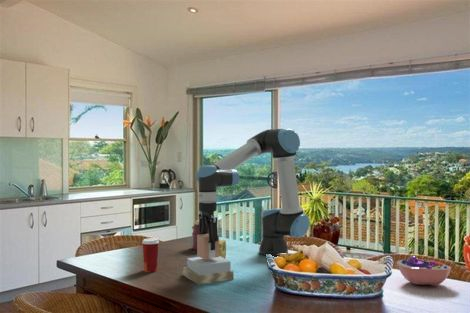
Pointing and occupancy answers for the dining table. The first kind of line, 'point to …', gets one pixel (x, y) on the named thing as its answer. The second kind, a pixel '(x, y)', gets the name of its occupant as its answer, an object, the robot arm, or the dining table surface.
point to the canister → (195, 234)
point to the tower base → (207, 276)
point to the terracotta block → (205, 246)
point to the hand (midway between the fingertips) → (208, 255)
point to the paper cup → (150, 254)
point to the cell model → (423, 271)
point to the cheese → (222, 248)
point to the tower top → (208, 265)
